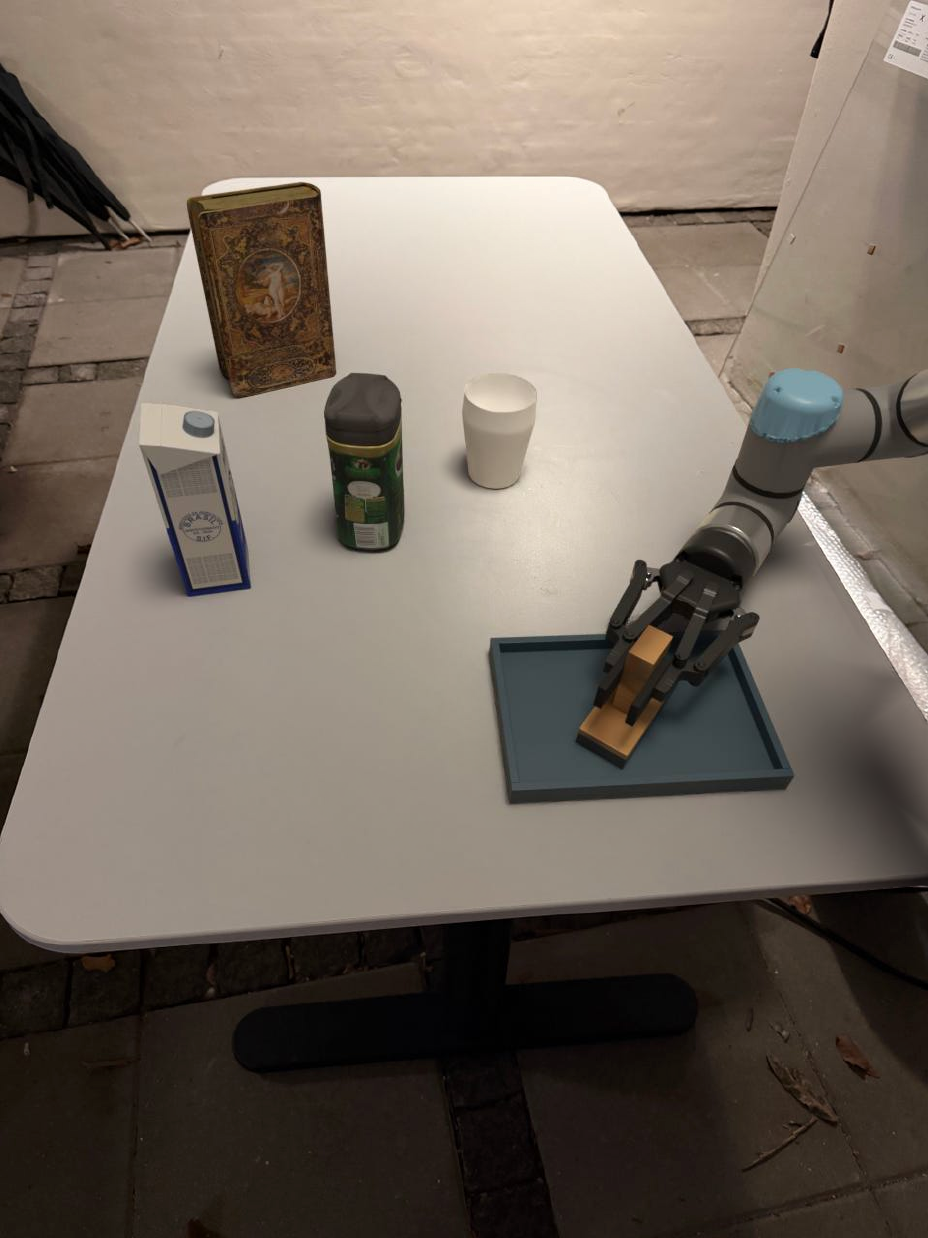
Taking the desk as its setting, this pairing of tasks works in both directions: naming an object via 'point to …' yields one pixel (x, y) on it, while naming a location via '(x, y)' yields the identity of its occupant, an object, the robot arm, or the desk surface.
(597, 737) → the wooden block on base
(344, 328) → the desk surface
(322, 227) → the book
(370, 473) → the coffee jar
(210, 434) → the milk carton
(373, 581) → the desk surface
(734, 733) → the tray
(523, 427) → the cup
